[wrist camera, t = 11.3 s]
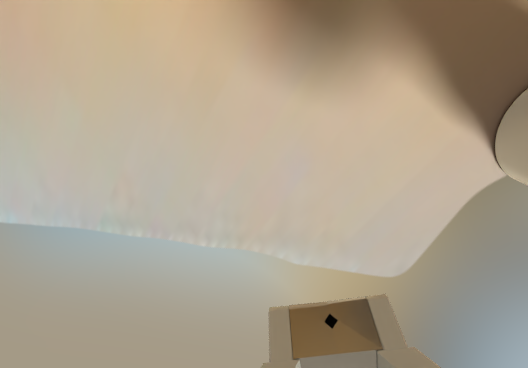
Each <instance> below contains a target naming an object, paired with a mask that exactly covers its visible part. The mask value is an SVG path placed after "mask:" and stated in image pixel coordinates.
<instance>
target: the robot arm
mask: <svg viewBox="0 0 528 368" xmlns="http://www.w3.org/2000/svg"><path fill="white" fill-rule="evenodd" d="M495 153H496V158H497V161H498V163H499V165H500V167H501V168H502V170H503V171H504V172H505V173H506V174H507V175H508V176H510V177H511V178H513V179H515V180H517V181H520V182H521V183H524V184H525V185H527V186H528V89H527V90H525V91H524V92H523V93H522V94H521V95H520V96H519V97H518V98H517V99H516V100H515V101H514V102H513V104H512V105H511V106H510V107H509V109H508V110H507V112H506V113H505V115H504V117H503V119H502V121H501V123H500V125H499V128H498V131H497V135H496V140H495ZM261 368H441V367H439V366H438V365H437V364H436V363H434V362H433V361H432V360H430V359H429V358H428V357H427V356H425V355H424V354H423V353H421V352H420V351H419V350H418V349H416V348H415V347H410V348H408V346H407V344H406V341H405V339H404V336H403V334H402V331H401V329H400V326H399V324H398V321H397V319H396V316H395V314H394V311H393V309H392V306H391V304H390V301H389V299H388V297H387V296H386V295H385V294H382V295H374V296H366V297H357V298H350V299H342V300H334V301H327V302H319V303H308V304H298V305H289V306H280V307H270V308H269V363H263V365H262V367H261Z"/></svg>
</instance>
